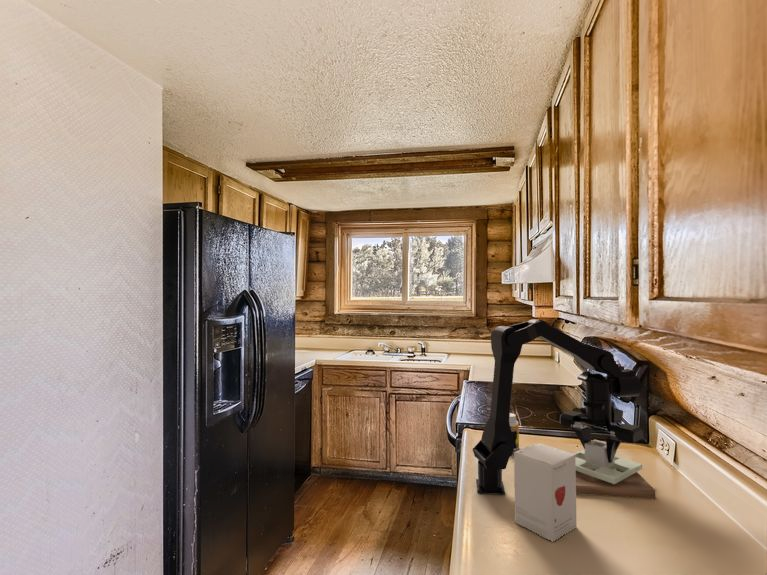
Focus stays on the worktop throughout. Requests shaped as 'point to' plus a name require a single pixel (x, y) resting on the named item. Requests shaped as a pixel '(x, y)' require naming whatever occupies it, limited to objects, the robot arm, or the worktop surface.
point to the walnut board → (614, 486)
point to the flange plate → (604, 463)
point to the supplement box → (545, 490)
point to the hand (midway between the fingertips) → (599, 459)
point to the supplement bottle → (514, 427)
